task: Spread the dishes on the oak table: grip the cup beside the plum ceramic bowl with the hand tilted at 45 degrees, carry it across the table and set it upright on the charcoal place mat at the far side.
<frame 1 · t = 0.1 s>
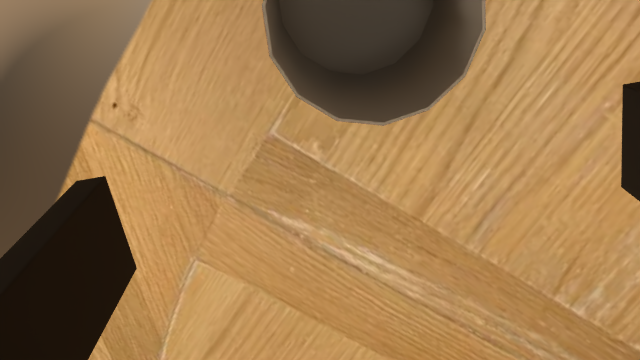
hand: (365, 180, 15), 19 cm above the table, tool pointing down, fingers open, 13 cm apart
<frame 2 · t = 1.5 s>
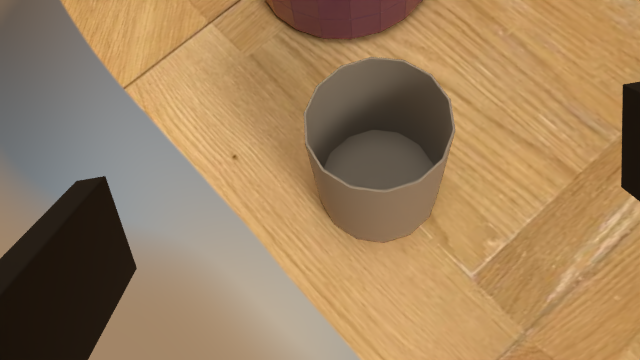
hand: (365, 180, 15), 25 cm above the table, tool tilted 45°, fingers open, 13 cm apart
cup: (378, 186, 42), on the table
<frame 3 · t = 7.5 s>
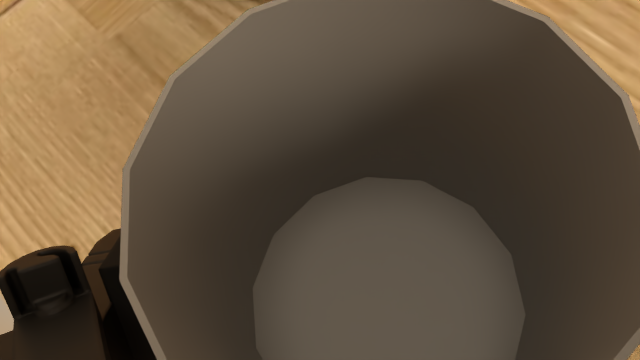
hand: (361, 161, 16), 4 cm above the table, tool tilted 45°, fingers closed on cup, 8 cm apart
cup: (384, 306, 18), on the table, touching gripper
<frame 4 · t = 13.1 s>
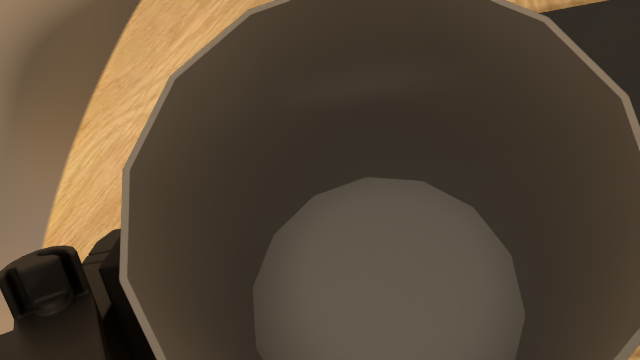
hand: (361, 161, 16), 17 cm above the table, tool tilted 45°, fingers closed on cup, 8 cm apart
cup: (384, 306, 18), point 13 cm above the table, touching gripper
place mat: (591, 127, 34), on the table
when the fingers open (4 cm above the table, at t = 18.8 s): cup stays where it is, resting on place mat.
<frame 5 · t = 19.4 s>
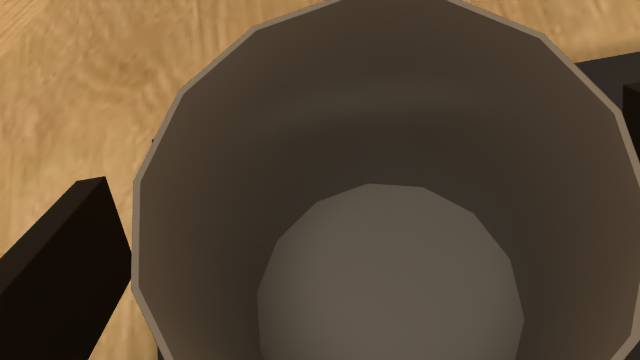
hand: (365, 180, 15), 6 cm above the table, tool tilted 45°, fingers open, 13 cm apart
cup: (386, 310, 19), resting on place mat
place mat: (464, 311, 19), on the table
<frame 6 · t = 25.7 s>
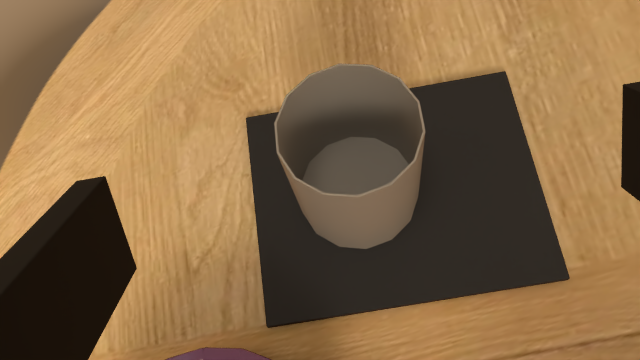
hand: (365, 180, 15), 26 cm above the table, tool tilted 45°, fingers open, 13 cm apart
cup: (358, 193, 42), resting on place mat
place mat: (393, 193, 42), on the table
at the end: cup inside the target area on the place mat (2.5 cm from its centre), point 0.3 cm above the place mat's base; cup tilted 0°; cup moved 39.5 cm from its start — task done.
